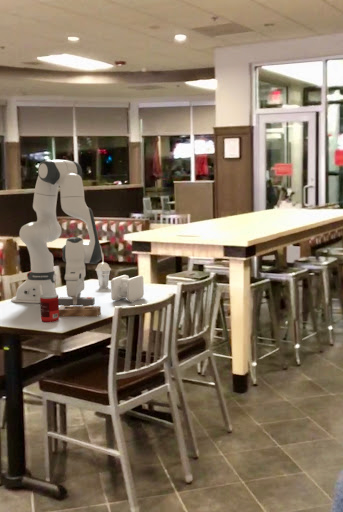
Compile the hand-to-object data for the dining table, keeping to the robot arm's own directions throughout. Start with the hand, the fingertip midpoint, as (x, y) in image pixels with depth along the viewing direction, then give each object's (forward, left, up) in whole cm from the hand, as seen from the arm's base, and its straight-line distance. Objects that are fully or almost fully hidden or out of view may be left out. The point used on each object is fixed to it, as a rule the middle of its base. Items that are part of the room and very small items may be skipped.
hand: (76, 303), depth 314 cm
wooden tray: (+3, -9, -3) cm, 10 cm away
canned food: (-7, -21, -4) cm, 22 cm away
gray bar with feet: (0, 0, -3) cm, 3 cm away
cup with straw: (+2, +57, -4) cm, 57 cm away
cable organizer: (+20, +24, -4) cm, 31 cm away
